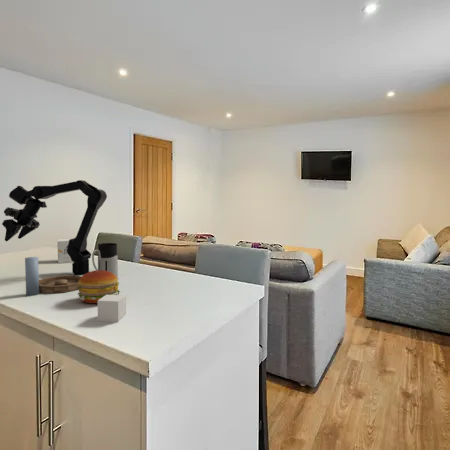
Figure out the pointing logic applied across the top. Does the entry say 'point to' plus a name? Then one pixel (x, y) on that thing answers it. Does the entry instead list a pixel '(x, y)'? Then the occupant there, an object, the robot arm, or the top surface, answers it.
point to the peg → (32, 276)
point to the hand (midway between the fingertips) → (12, 239)
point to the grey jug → (107, 258)
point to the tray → (59, 284)
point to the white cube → (112, 308)
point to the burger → (97, 285)
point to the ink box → (63, 251)
